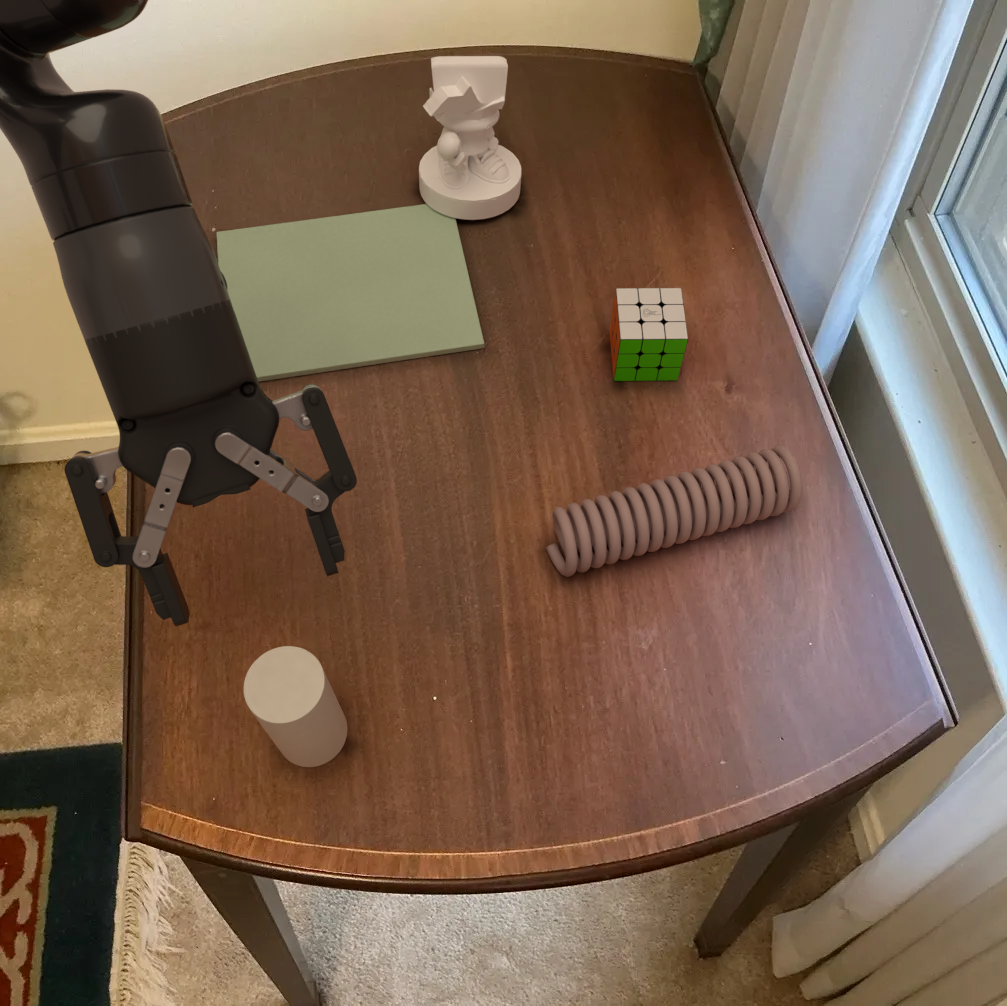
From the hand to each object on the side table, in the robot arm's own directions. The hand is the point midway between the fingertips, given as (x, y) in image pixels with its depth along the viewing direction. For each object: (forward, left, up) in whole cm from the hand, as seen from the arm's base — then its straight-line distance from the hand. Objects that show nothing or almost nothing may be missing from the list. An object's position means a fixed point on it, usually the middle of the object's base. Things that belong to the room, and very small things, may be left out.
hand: (259, 595), depth 54 cm
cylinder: (+1, -5, -10) cm, 11 cm away
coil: (+27, +5, -10) cm, 29 cm away
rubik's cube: (+29, +20, -10) cm, 36 cm away
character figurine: (+19, +41, -10) cm, 46 cm away
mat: (+7, +31, -10) cm, 33 cm away
